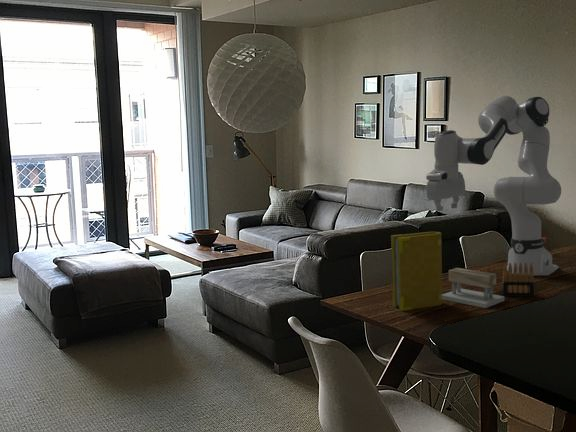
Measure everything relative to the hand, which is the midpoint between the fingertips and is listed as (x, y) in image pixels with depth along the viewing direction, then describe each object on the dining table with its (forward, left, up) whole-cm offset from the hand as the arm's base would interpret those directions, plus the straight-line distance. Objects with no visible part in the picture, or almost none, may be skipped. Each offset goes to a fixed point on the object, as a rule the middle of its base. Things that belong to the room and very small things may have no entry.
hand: (447, 209), depth 248 cm
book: (+31, +10, -29) cm, 44 cm away
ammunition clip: (-1, +29, -29) cm, 41 cm away
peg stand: (+14, +20, -29) cm, 38 cm away
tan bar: (+14, +20, -23) cm, 33 cm away
